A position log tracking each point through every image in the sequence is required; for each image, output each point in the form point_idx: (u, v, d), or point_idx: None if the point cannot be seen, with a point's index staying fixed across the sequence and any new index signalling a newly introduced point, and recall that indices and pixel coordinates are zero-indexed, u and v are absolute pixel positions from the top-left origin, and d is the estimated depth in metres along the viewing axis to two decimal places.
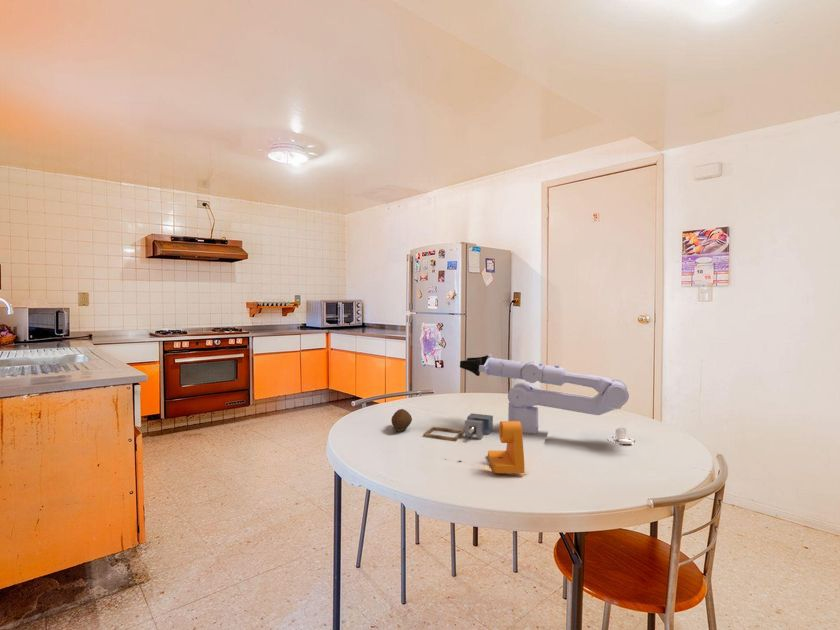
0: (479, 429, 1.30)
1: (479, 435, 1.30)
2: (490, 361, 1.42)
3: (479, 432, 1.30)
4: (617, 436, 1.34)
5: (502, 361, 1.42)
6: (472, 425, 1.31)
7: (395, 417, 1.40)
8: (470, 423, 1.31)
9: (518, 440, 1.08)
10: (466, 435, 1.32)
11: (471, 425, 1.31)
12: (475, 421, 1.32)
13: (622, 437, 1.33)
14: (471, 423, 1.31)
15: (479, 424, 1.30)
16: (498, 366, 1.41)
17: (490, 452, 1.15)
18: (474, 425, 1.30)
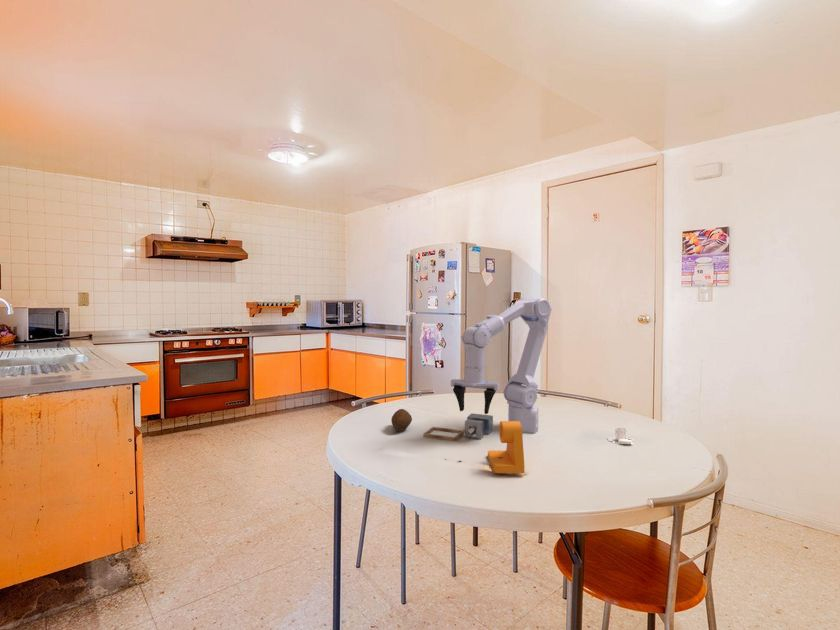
0: (479, 429, 1.30)
1: (479, 435, 1.30)
2: (479, 381, 1.29)
3: (479, 432, 1.30)
4: (617, 436, 1.34)
5: (477, 369, 1.29)
6: (472, 425, 1.31)
7: (395, 417, 1.40)
8: (470, 423, 1.31)
9: (518, 440, 1.08)
10: (466, 435, 1.32)
11: (471, 425, 1.31)
12: (475, 421, 1.32)
13: (622, 437, 1.33)
14: (471, 423, 1.31)
15: (479, 424, 1.30)
16: (482, 371, 1.29)
17: (490, 452, 1.15)
18: (474, 425, 1.30)
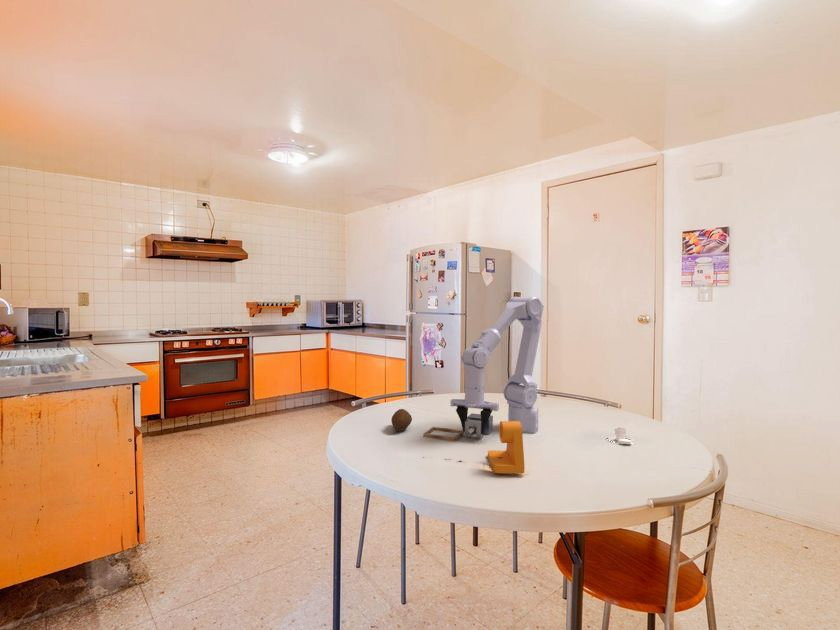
0: (479, 429, 1.30)
1: (479, 435, 1.30)
2: (479, 402, 1.29)
3: (479, 432, 1.30)
4: (616, 436, 1.34)
5: (477, 389, 1.29)
6: (472, 425, 1.31)
7: (395, 417, 1.40)
8: (470, 423, 1.31)
9: (519, 440, 1.08)
10: (466, 435, 1.32)
11: (471, 425, 1.31)
12: (475, 421, 1.32)
13: (621, 437, 1.33)
14: (471, 423, 1.31)
15: (479, 424, 1.30)
16: (482, 392, 1.30)
17: (490, 452, 1.15)
18: (474, 425, 1.30)
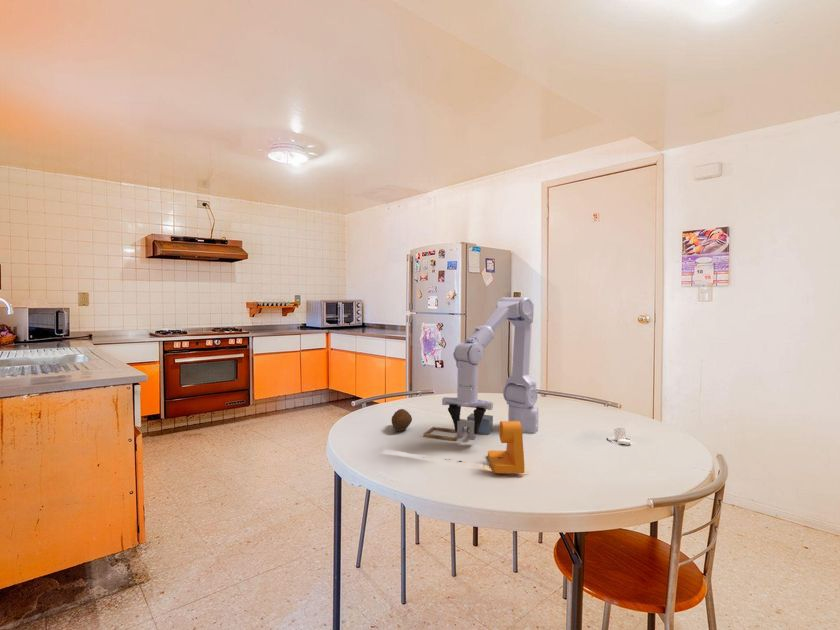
0: (472, 429, 1.23)
1: (472, 435, 1.23)
2: (472, 400, 1.22)
3: (472, 432, 1.23)
4: (616, 436, 1.34)
5: (470, 387, 1.22)
6: (465, 425, 1.24)
7: (395, 417, 1.40)
8: (463, 423, 1.24)
9: (518, 440, 1.08)
10: (458, 435, 1.25)
11: (464, 425, 1.24)
12: (468, 421, 1.25)
13: (621, 437, 1.33)
14: (464, 423, 1.24)
15: (472, 424, 1.23)
16: (475, 389, 1.23)
17: (490, 452, 1.15)
18: (467, 425, 1.24)
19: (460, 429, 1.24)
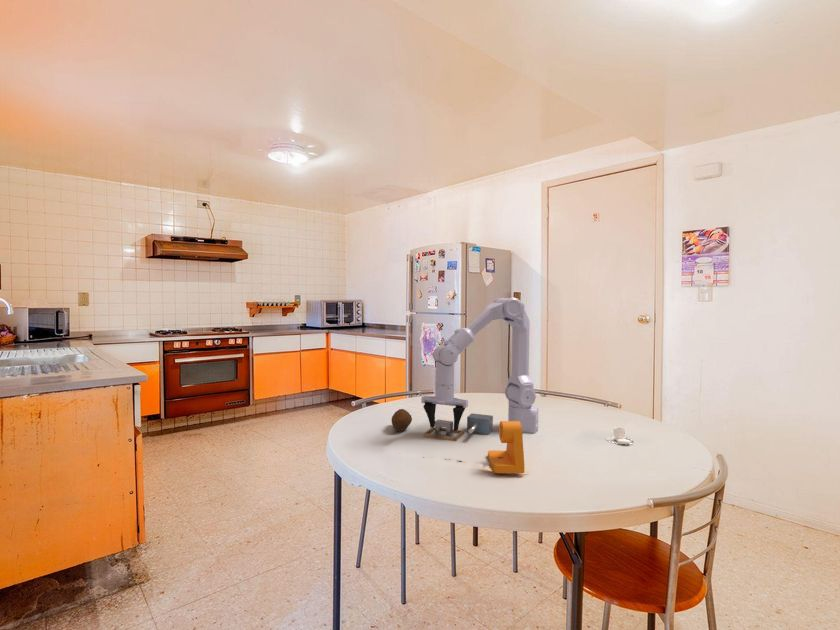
0: (448, 429, 1.32)
1: (448, 435, 1.32)
2: (448, 399, 1.31)
3: (448, 432, 1.32)
4: (615, 436, 1.34)
5: (446, 386, 1.31)
6: (442, 425, 1.33)
7: (395, 417, 1.40)
8: (440, 423, 1.33)
9: (518, 440, 1.08)
10: None
11: (441, 425, 1.33)
12: (445, 421, 1.34)
13: (620, 437, 1.33)
14: (441, 423, 1.33)
15: (448, 424, 1.32)
16: (451, 389, 1.32)
17: (490, 452, 1.15)
18: (444, 425, 1.33)
19: (437, 429, 1.33)
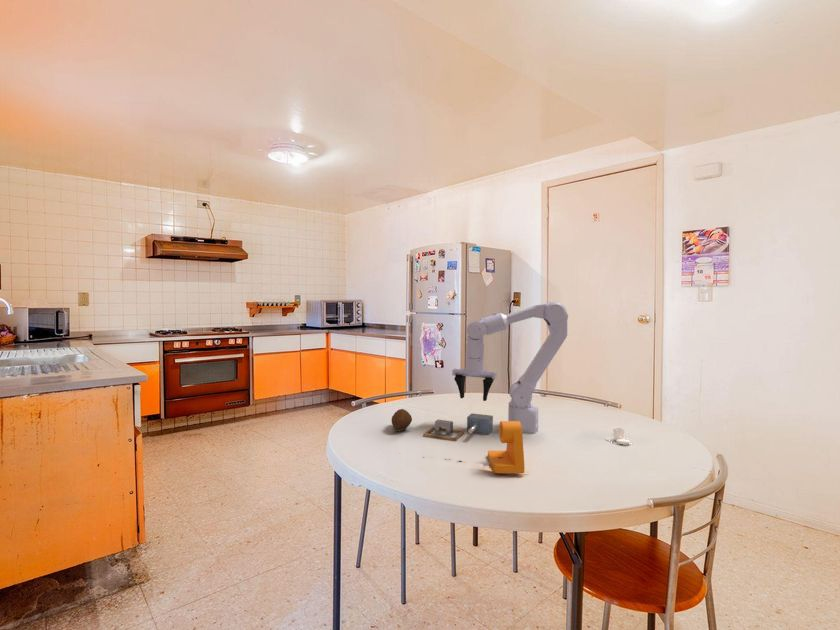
0: (448, 429, 1.32)
1: (448, 435, 1.32)
2: (478, 371, 1.40)
3: (448, 432, 1.32)
4: (615, 436, 1.34)
5: (477, 359, 1.40)
6: (442, 425, 1.33)
7: (395, 417, 1.40)
8: (440, 423, 1.33)
9: (518, 440, 1.08)
10: None
11: (441, 425, 1.33)
12: (445, 421, 1.34)
13: (620, 437, 1.33)
14: (441, 423, 1.33)
15: (448, 424, 1.32)
16: (481, 361, 1.41)
17: (490, 452, 1.15)
18: (444, 425, 1.33)
19: (437, 429, 1.33)
